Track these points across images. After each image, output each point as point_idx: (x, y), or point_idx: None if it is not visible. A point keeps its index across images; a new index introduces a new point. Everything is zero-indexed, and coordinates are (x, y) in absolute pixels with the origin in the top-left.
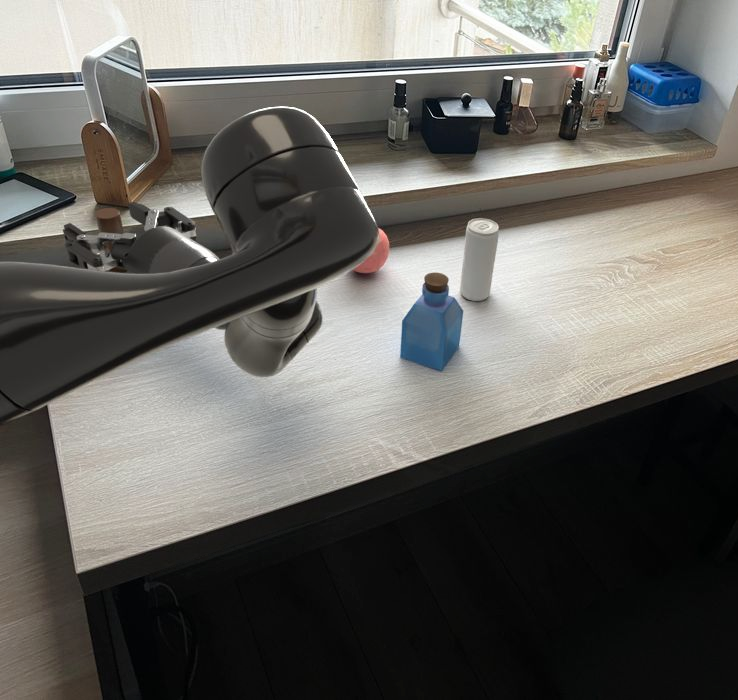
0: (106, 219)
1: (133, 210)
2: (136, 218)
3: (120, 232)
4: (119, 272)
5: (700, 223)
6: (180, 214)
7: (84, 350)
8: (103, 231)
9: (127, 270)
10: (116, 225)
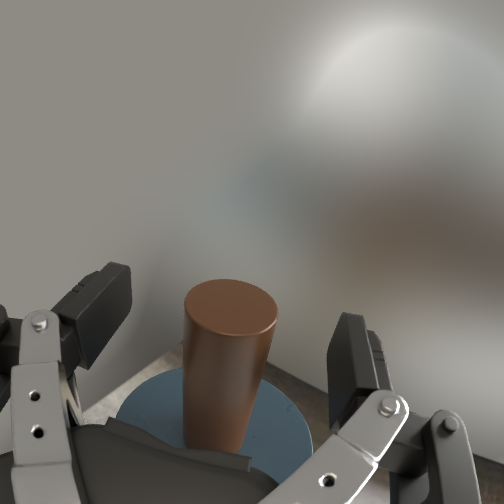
0: (192, 324)
1: (339, 343)
2: (331, 370)
3: (229, 390)
4: None
5: None
6: (471, 493)
7: None
8: (183, 351)
9: None
10: (221, 365)
